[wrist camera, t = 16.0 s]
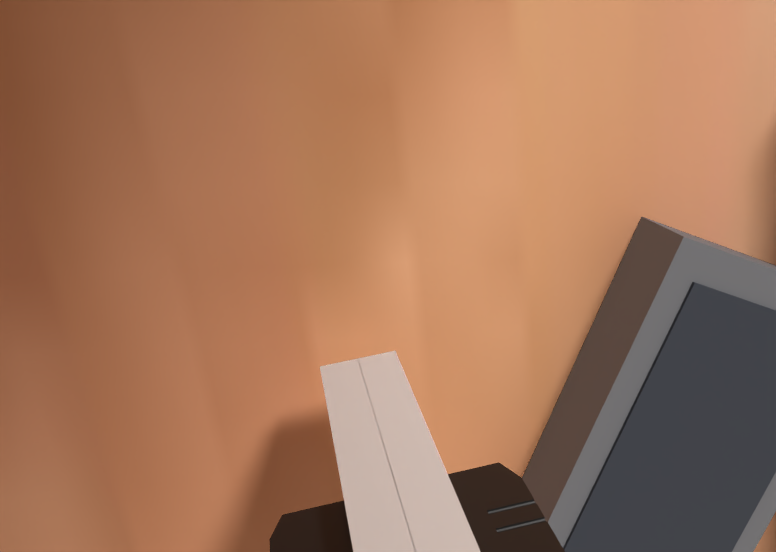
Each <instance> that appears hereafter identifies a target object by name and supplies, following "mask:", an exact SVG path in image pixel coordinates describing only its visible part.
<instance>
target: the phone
mask: <svg viewBox="0 0 776 552" xmlns="http://www.w3.org/2000/svg"><path fill="white" fill-rule="evenodd" d="M522 479H523V481H524V483H525V484H526V486H527V488H528V489H529V491H530V493H531V494H532V496H533V498H534V501H535V504H536V503H537V505H538V506H539V508H540V510H541V512H542V513H543V515H544V517H545V521H547V522H548V524H549V525H550V527H551V529H552V530H553V532H554V534H555V535H556V537H557V539H558V541H559V542H560V544H561V546H562V547H563V549H564V551H565V552H753V551H754V549H755V548H756V546H757V544H758V542H759V541H760V539H761V537H762V535H763V533H764V532H765V530H766V528H767V526H768V524H769V523H770V521H771V519H772V517H773V516H774V514H775V512H776V265H773V264H770V263H767V262H765V261H762V260H759V259H756V258H754V257H751V256H748V255H745V254H743V253H740V252H737V251H734V250H732V249H729V248H726V247H724V246H721V245H718V244H715V243H713V242H710V241H707V240H704V239H702V238H699V237H696V236H693V235H691V234H688V233H685V232H682V231H680V230H677V229H674V228H671V227H669V226H666V225H663V224H661V223H658V222H655V221H652V220H650V219H647V218H644V217H641V219H640V221H639V223H638V226H637V228H636V230H635V232H634V234H633V237H632V239H631V241H630V243H629V245H628V247H627V250H626V252H625V254H624V256H623V258H622V261H621V263H620V265H619V267H618V269H617V271H616V274H615V276H614V278H613V280H612V282H611V285H610V287H609V289H608V291H607V293H606V296H605V298H604V300H603V302H602V304H601V306H600V309H599V311H598V313H597V315H596V317H595V320H594V322H593V324H592V326H591V328H590V330H589V333H588V335H587V337H586V339H585V341H584V344H583V346H582V348H581V350H580V352H579V355H578V357H577V359H576V361H575V363H574V365H573V368H572V370H571V372H570V374H569V376H568V379H567V381H566V383H565V385H564V387H563V389H562V392H561V394H560V396H559V398H558V400H557V403H556V405H555V407H554V409H553V411H552V414H551V416H550V418H549V420H548V422H547V424H546V427H545V429H544V431H543V433H542V435H541V438H540V440H539V442H538V444H537V446H536V448H535V451H534V453H533V455H532V457H531V459H530V462H529V464H528V466H527V468H526V470H525V473H524V475H523V477H522Z"/></svg>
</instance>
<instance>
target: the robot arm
mask: <svg viewBox="0 0 776 552" xmlns="http://www.w3.org/2000/svg"><path fill="white" fill-rule="evenodd" d="M320 370H321V376H322V382H323V387H324V393H325V398H326V404H327V409H328V415H329V420H330V426H331V431H332V437H333V442H334V448H335V453H336V459H337V464H338V470H339V476H340V481H341V487H342V492H343V498H344V501H340V502H336V503H332V504H327V505H323V506H319V507H314V508H310V509H306V510H301V511H297V512H293V513H288V514H284V515H282V517H281V519H280V521H279V522H278V524H277V526H276V528H275V530H274V532H273V534H272V536H271V538H270V552H565V551H564V549H563V547H562V546H561V544H560V542H559V541H558V539H557V537H556V535H555V534H554V532H553V530H552V529H551V527H550V525H549V524H548V522H547V521H545V517H544V515H543V513H542V512H541V510H540V508H539V506H538V505H537V503H536V504H535V501H534V498H533V496H532V494H531V493H530V491H529V489H528V488H527V486H526V484H525V483H524V481H523V479H522V478H521V477H520V476H518V475H517V474H515V473H514V472H512V471H511V470H509V469H508V468H506V467H505V466H503V465H502V464H500V463H495V464H491V465H486V466H482V467H478V468H473V469H469V470H465V471H460V472H456V473H452V474H447V471H446V469H445V467H444V464H443V462H442V460H441V457H440V455H439V452H438V450H437V448H436V445H435V443H434V441H433V438H432V436H431V434H430V431H429V429H428V427H427V424H426V422H425V419H424V417H423V415H422V412H421V410H420V408H419V405H418V403H417V401H416V398H415V396H414V394H413V391H412V389H411V386H410V384H409V382H408V379H407V377H406V375H405V372H404V370H403V368H402V365H401V363H400V360H399V358H398V356H397V353H396V351H391V352H386V353H382V354H377V355H372V356H367V357H363V358H358V359H353V360H348V361H344V362H339V363H334V364H329V365H325V366H320Z"/></svg>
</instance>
